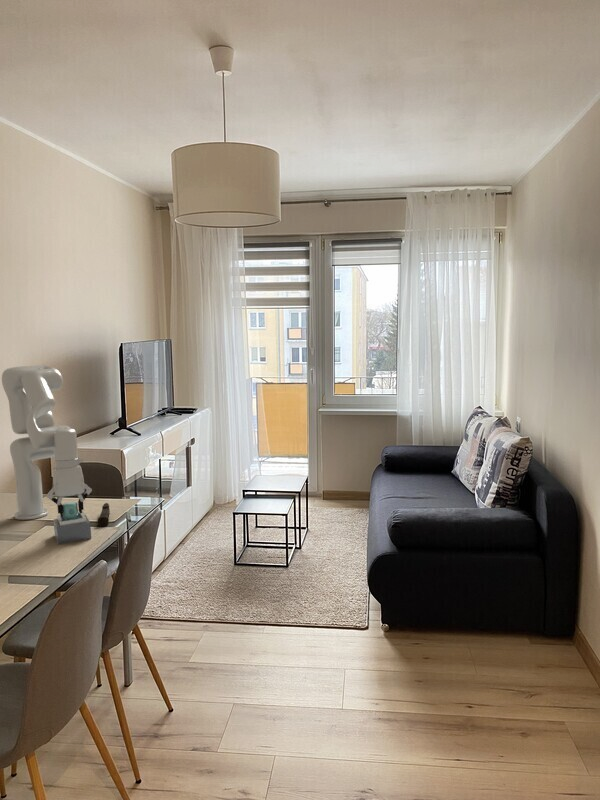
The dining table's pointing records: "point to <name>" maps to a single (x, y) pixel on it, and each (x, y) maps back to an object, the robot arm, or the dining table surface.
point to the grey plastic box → (72, 529)
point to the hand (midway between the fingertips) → (71, 513)
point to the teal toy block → (70, 511)
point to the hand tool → (104, 515)
